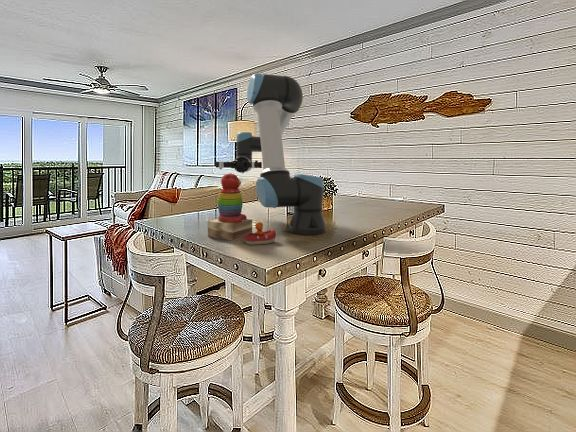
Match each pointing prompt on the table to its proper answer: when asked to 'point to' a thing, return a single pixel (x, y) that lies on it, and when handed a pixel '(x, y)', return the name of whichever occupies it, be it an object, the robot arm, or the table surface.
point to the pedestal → (229, 229)
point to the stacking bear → (230, 200)
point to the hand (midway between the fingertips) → (236, 165)
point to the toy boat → (260, 236)
